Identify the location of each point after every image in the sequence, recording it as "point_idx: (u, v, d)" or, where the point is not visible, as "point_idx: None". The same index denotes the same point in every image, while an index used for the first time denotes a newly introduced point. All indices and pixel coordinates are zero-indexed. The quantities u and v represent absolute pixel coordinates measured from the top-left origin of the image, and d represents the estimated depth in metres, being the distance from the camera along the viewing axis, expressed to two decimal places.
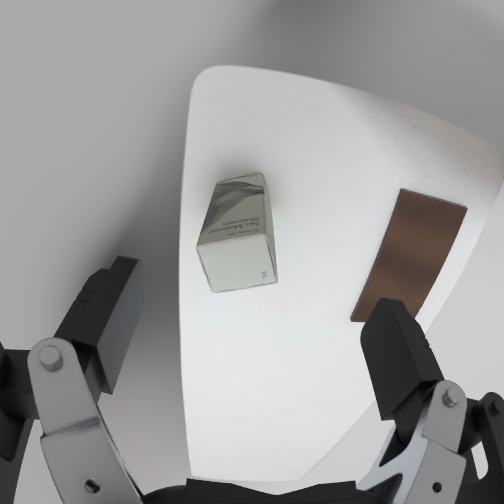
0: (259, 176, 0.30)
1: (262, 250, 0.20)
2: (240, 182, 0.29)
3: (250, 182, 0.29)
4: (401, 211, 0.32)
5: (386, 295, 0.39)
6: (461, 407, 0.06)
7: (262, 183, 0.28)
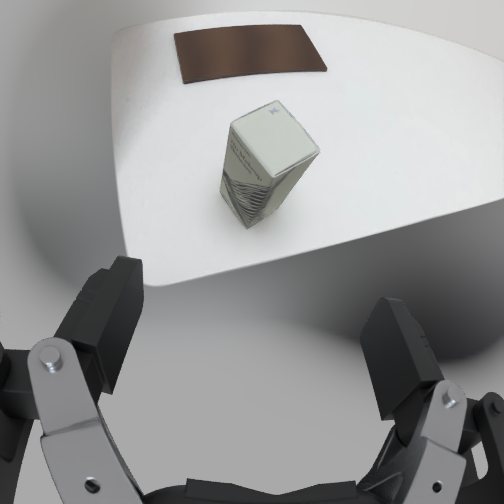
0: (221, 190, 0.30)
1: (248, 119, 0.19)
2: (232, 202, 0.29)
3: (226, 192, 0.29)
4: (202, 74, 0.33)
5: (285, 52, 0.36)
6: (461, 407, 0.06)
7: (221, 180, 0.28)
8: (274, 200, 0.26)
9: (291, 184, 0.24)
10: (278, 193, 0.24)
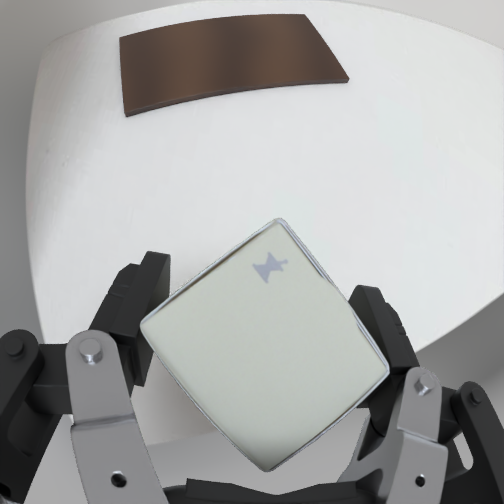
0: None
1: (189, 312, 0.06)
2: None
3: None
4: (153, 98, 0.21)
5: (285, 54, 0.24)
6: (435, 395, 0.06)
7: None
8: None
9: None
10: None
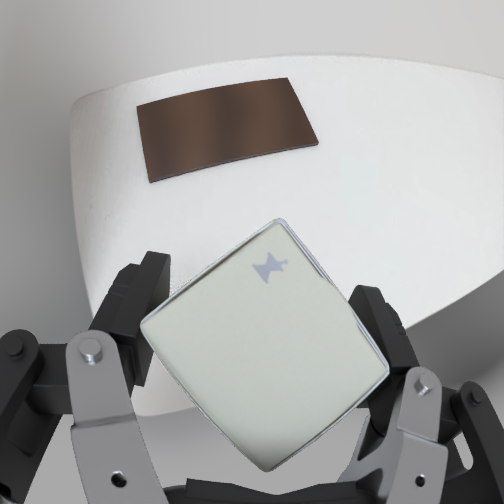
0: None
1: (189, 312, 0.06)
2: None
3: None
4: (169, 168, 0.31)
5: (268, 124, 0.34)
6: (435, 395, 0.06)
7: None
8: None
9: None
10: None
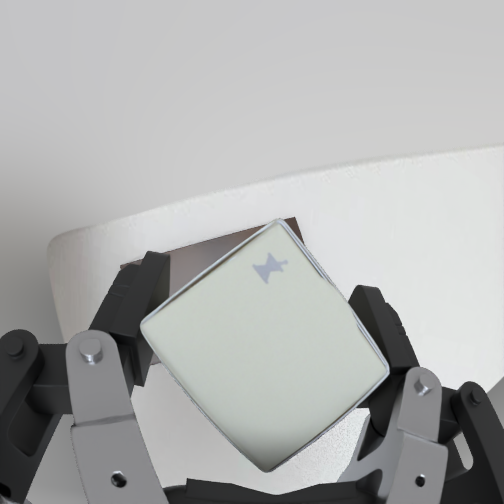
0: None
1: (189, 312, 0.06)
2: None
3: None
4: None
5: None
6: (435, 395, 0.06)
7: None
8: None
9: None
10: None
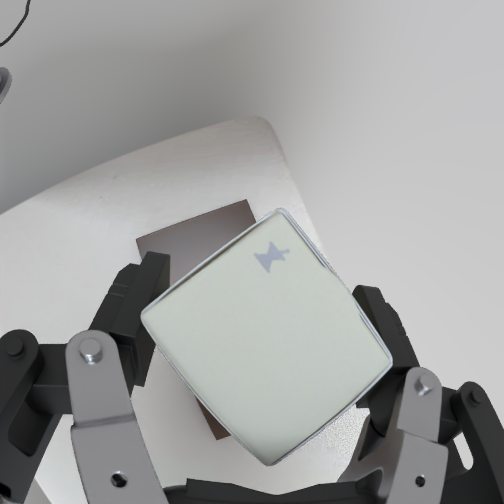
0: None
1: (190, 301, 0.06)
2: None
3: None
4: None
5: None
6: (435, 395, 0.06)
7: None
8: None
9: None
10: None
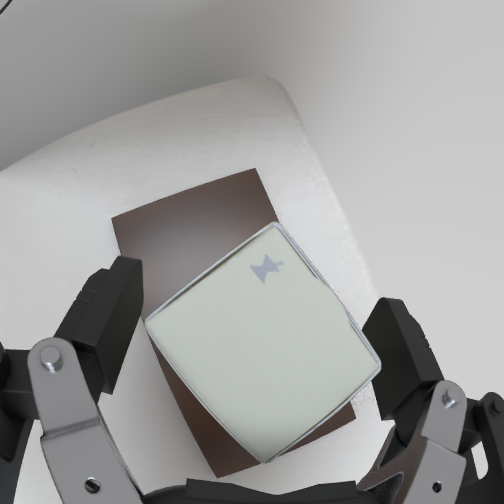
0: None
1: (190, 310, 0.07)
2: None
3: None
4: (129, 247, 0.20)
5: None
6: (461, 407, 0.06)
7: None
8: None
9: None
10: None
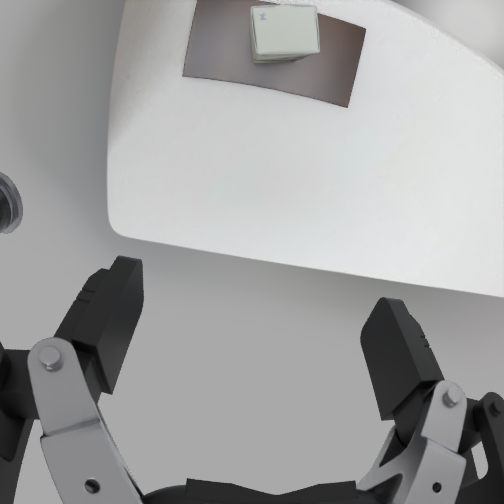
0: (256, 62, 0.29)
1: (261, 39, 0.18)
2: (273, 61, 0.28)
3: (265, 61, 0.28)
4: (203, 72, 0.31)
5: (312, 68, 0.30)
6: (461, 407, 0.06)
7: (254, 61, 0.27)
8: None
9: None
10: None
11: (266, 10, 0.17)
